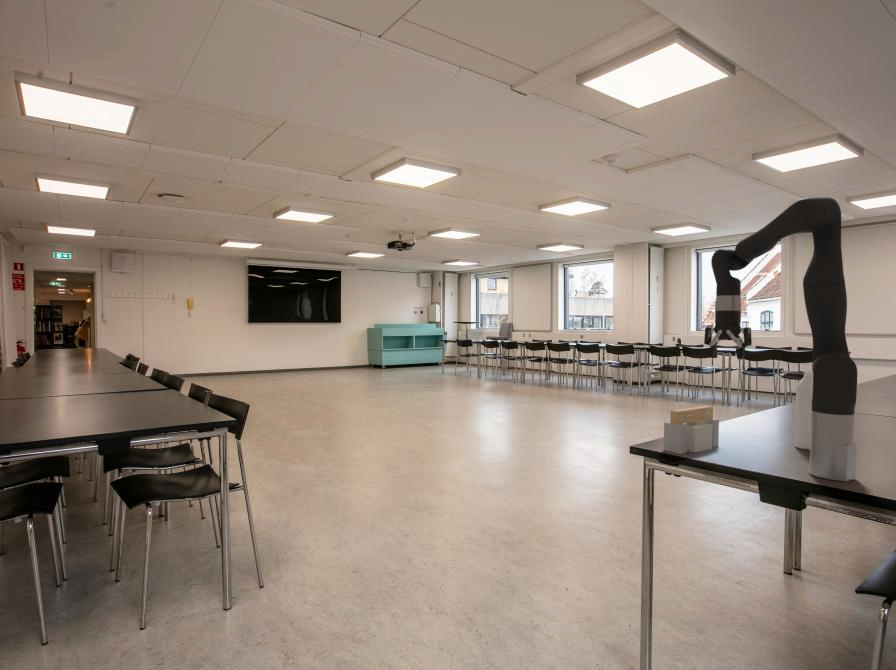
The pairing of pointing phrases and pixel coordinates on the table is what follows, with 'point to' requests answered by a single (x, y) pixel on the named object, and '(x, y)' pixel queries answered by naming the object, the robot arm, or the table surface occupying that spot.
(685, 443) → the notched grey block
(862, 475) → the table surface
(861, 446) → the table surface
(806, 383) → the water bottle
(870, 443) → the table surface
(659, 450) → the table surface
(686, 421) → the tan wooden bar
